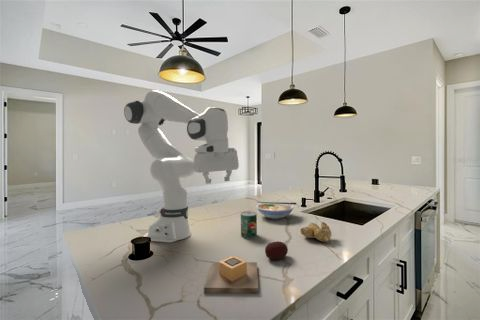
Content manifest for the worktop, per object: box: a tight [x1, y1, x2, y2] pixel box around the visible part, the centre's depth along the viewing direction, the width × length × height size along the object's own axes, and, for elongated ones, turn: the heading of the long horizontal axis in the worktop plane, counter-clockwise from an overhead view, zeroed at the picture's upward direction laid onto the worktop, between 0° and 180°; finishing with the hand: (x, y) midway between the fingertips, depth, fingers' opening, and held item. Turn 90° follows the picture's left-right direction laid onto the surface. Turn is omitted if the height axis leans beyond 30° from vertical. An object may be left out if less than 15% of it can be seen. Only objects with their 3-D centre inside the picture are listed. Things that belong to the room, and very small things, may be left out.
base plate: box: [203, 259, 259, 294], centre depth 78 cm, size 16×16×6 cm
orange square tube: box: [218, 255, 248, 281], centre depth 78 cm, size 6×6×4 cm
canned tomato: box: [240, 210, 258, 240], centre depth 116 cm, size 8×8×11 cm
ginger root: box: [299, 221, 333, 243], centre depth 111 cm, size 16×16×8 cm
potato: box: [264, 240, 289, 261], centre depth 92 cm, size 7×10×6 cm
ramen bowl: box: [256, 201, 297, 220], centre depth 147 cm, size 25×23×8 cm
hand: (217, 182), depth 96 cm, fingers open, 8 cm apart
